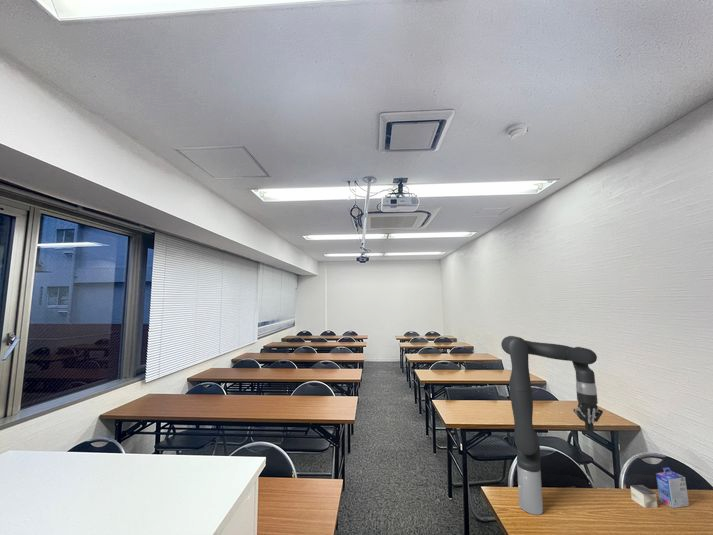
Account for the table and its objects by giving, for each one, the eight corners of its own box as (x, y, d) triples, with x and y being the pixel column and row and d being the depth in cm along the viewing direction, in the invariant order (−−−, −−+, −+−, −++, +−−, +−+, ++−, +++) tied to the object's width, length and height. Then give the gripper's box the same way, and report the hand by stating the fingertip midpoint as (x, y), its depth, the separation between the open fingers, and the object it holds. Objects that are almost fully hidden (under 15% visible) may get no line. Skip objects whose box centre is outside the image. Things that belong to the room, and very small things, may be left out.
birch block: (655, 493, 132) (657, 507, 131) (642, 484, 138) (643, 498, 137) (643, 493, 132) (644, 508, 131) (630, 485, 138) (631, 499, 137)
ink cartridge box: (674, 498, 138) (670, 465, 139) (689, 506, 132) (685, 471, 134) (658, 500, 136) (654, 467, 137) (672, 508, 130) (668, 474, 132)
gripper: (579, 394, 132) (582, 435, 130) (607, 394, 132) (610, 434, 130) (566, 389, 139) (569, 427, 137) (592, 389, 140) (596, 427, 138)
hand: (589, 431), depth 134 cm, fingers closed
